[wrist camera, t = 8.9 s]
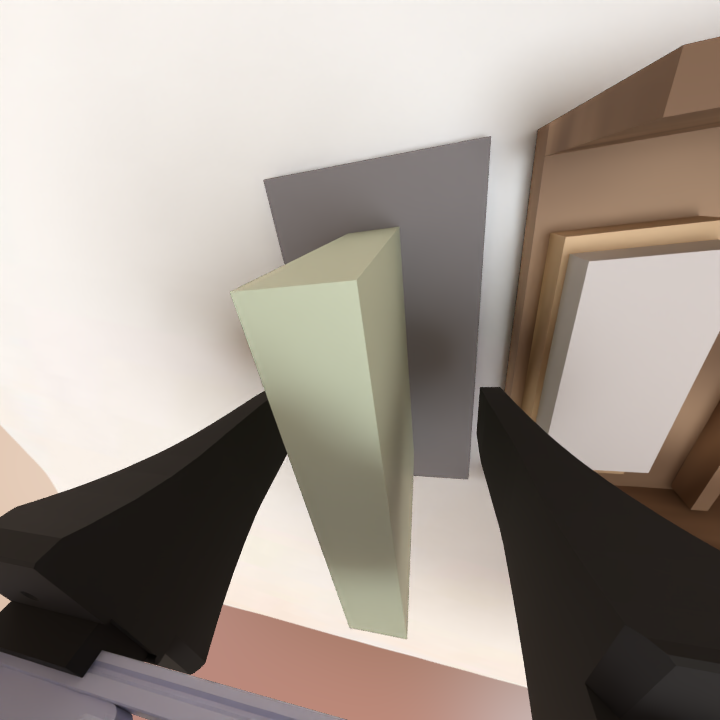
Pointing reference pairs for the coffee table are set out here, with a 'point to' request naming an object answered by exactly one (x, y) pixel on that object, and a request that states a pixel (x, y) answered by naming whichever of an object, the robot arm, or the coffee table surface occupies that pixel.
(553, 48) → the coffee table surface
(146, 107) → the coffee table surface
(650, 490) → the rack
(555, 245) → the offcut lower
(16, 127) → the coffee table surface
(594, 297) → the offcut upper
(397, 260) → the pale green long block
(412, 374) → the grey flat panel
